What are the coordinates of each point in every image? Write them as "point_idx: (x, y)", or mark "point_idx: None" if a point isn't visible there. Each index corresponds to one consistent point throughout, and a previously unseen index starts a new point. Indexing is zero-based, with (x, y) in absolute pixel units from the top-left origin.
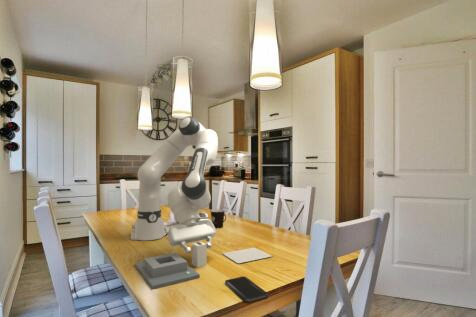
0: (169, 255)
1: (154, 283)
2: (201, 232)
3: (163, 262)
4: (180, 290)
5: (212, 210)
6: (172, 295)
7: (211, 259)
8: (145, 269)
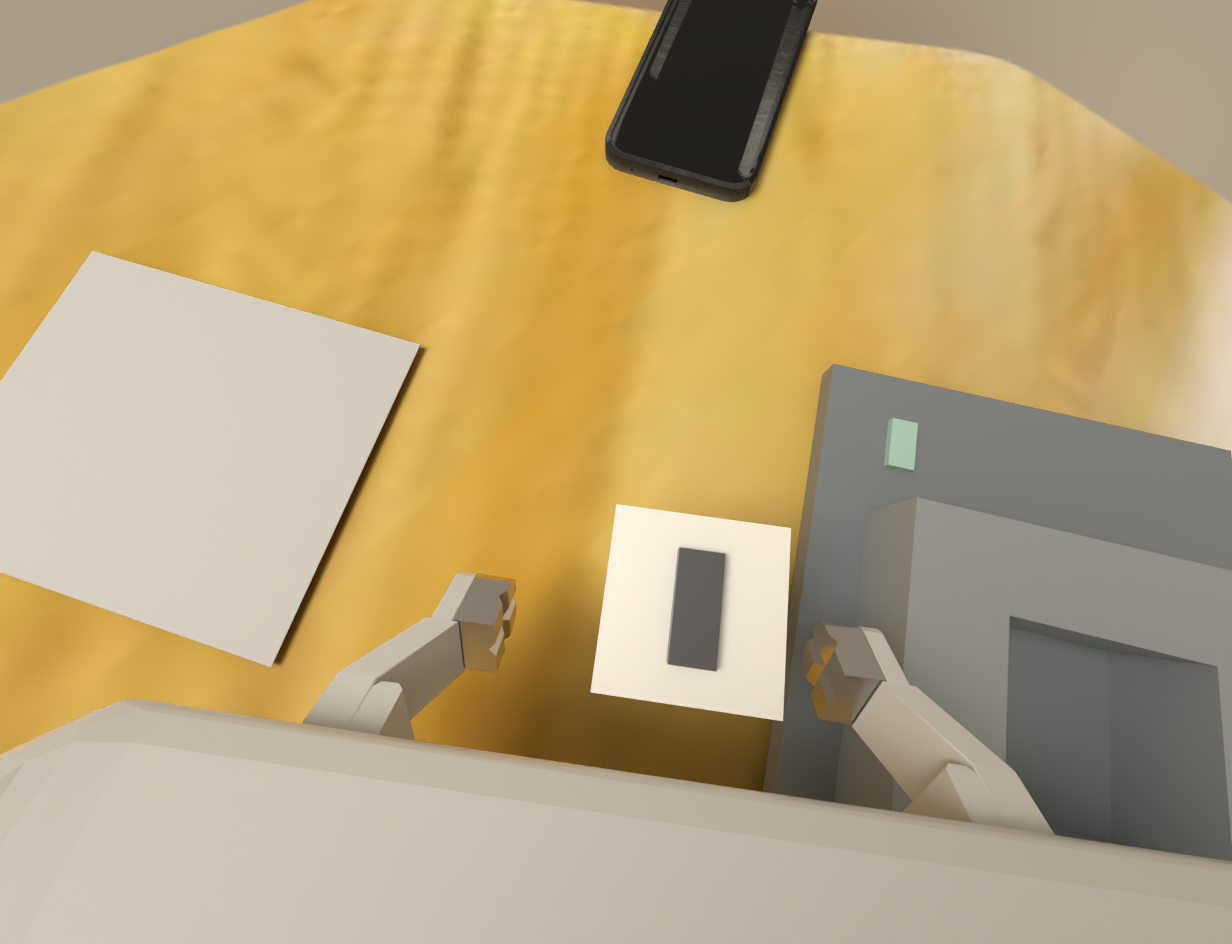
0: None
1: (1207, 479)
2: (467, 870)
3: None
4: (1032, 312)
5: None
6: (1102, 294)
7: None
8: None
